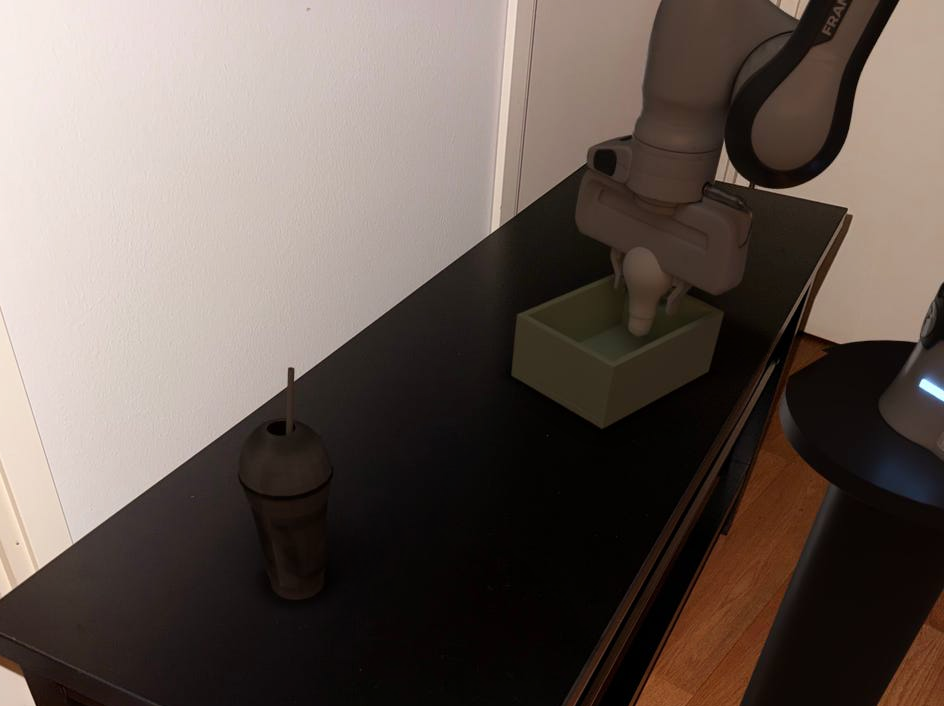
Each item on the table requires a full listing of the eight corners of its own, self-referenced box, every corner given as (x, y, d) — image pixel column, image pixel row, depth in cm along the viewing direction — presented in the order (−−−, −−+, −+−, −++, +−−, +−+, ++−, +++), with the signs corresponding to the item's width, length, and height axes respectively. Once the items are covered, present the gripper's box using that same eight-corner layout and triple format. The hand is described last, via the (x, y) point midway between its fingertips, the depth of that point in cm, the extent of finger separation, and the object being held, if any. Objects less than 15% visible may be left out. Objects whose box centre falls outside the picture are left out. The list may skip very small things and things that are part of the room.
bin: (618, 325, 115) (629, 266, 110) (708, 371, 108) (724, 311, 103) (510, 375, 106) (516, 314, 100) (602, 429, 99) (613, 366, 94)
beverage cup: (242, 568, 81) (207, 358, 67) (320, 544, 84) (303, 337, 70) (273, 622, 77) (243, 410, 63) (354, 594, 80) (344, 385, 65)
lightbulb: (671, 330, 108) (693, 234, 100) (656, 354, 104) (678, 256, 96) (620, 317, 109) (638, 221, 101) (603, 340, 105) (620, 242, 97)
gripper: (777, 195, 90) (739, 329, 100) (615, 131, 100) (595, 259, 110) (739, 211, 87) (703, 348, 97) (575, 144, 97) (558, 274, 107)
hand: (644, 300), depth 104 cm, fingers closed on lightbulb, 5 cm apart
